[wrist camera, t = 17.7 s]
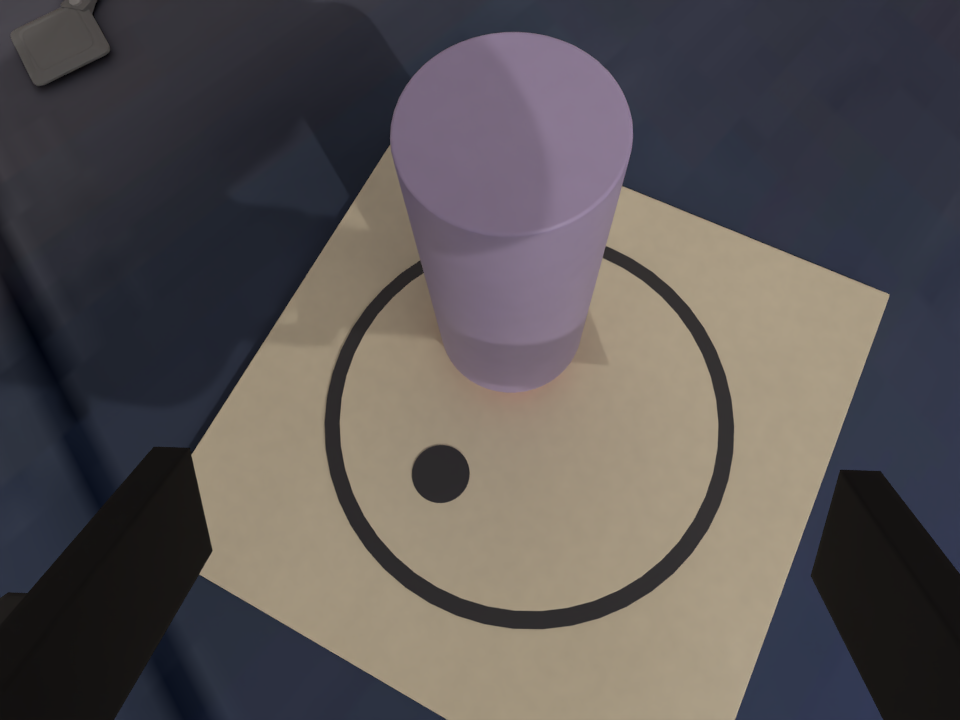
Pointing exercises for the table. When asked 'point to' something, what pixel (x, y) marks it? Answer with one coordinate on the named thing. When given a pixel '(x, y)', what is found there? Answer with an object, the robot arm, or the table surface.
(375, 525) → the beige square board
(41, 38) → the key chain
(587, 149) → the cylinder
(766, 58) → the table surface
